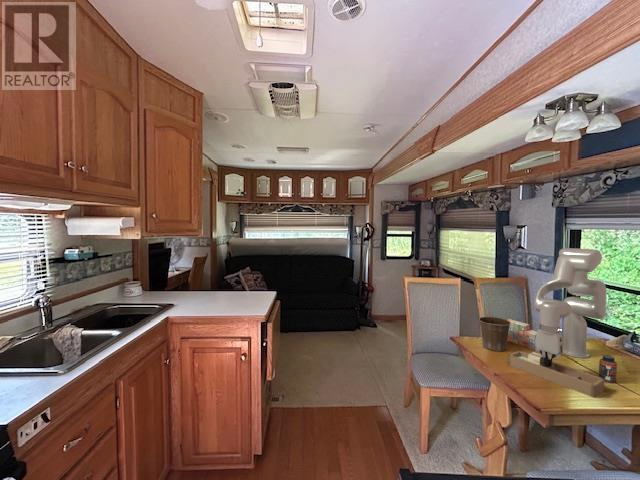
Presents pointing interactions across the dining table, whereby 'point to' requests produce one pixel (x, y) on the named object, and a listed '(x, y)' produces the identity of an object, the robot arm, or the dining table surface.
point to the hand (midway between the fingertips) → (547, 365)
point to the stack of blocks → (521, 334)
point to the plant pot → (494, 333)
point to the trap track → (559, 374)
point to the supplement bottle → (608, 368)
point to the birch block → (536, 358)
